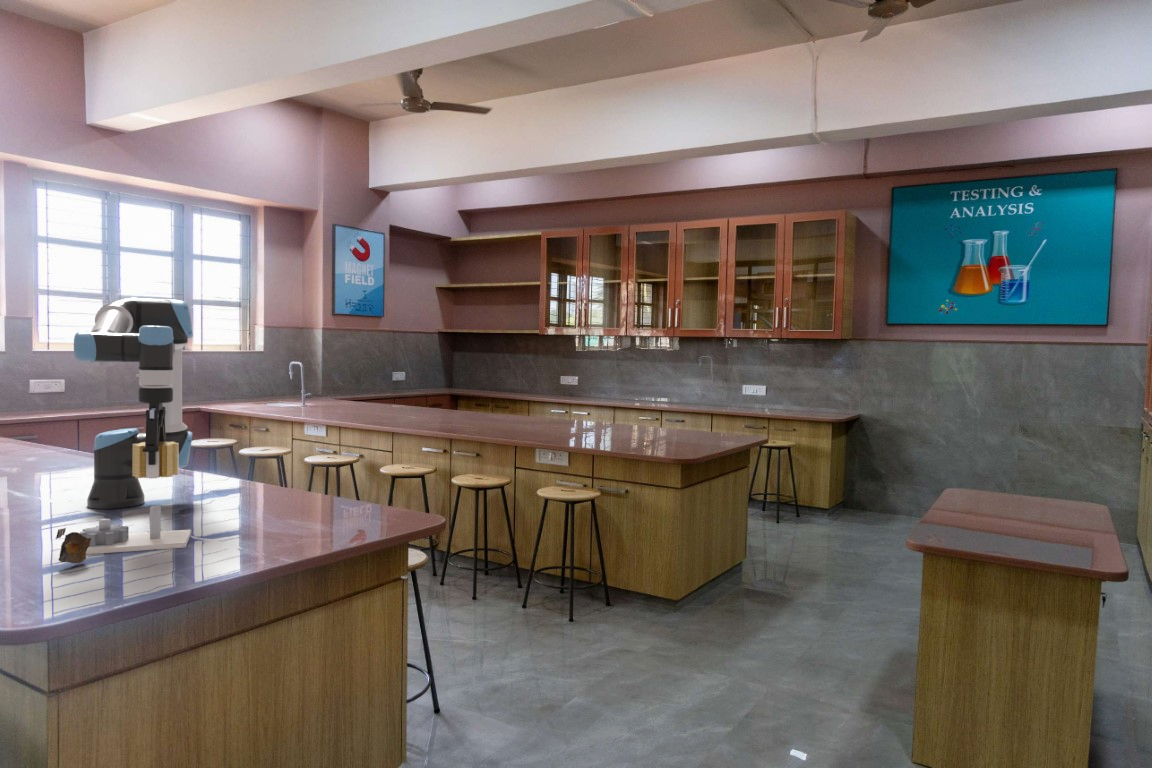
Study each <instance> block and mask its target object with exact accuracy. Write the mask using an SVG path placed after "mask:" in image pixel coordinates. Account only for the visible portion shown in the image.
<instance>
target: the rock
mask: <svg viewBox="0 0 1152 768" xmlns="http://www.w3.org/2000/svg"><path fill="white" fill-rule="evenodd" d="M66 529H67V527H64V528H60V529H57V533H56V536H55V540H57V539H61V537H62V536H64V537H65V538H64V540H63V542H62V543H61V546H60V552H59V557H58V562H61V563H69V564H81V563H83V562H84V561H85V560H86V559H87V557H86V556H87V554H86V551H87V548H88V547H89V544H90V540H91V538H85V537H83V536H82V535H81V534H80V532H76V531H73V532H70V533H67V534H66V535H65V533H66Z"/></svg>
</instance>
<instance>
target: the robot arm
mask: <svg viewBox="0 0 1152 768" xmlns="http://www.w3.org/2000/svg"><path fill="white" fill-rule="evenodd" d="M94 323H95V324H94V326H93V327H92V329H91V331H88V330H87V331H79V332H78V331H77V332H76V333H75V334H74V338H73V354H74V358H75V359H76V360H77V361H80V362H90V363H94V362H95V363H96V362H97V363H98V362H101V363H106V362H108V363H110V362H111V363H119V362H121V363H138V372H139V373H136V374H135V376H136V378H138V385H139V386H140V387H139V388H138V401H139V403H142V404H148V409H146V410H145V416H146V417H145V419H146V421H145V432H139V429H138V428H135V427H134V428H133V427H132V428H121V429H116V430H115V429H113V430H109V431H104V432H100V433H98V434H96V435H95V437H94V443H93V444H94V445H93V449H92V450H93V455H94V456H93V459H94V460H93V477H94V478H93V483H92V486H91V489H90V491H89V493H88V497H87V499H86V500H87V501H86V504H87V505H86V506H87V507H88V508H90V509H94V510H95V509H96V510H97V509H98V510H112V509H113V510H114V509H124V508H130V507H131V508H132V507H135V506H136V507H137V506H140V505H142V504H144V503H145V493H144V491H143V488H142V485H141V482H140V480H139V478H135V476H132V456H133V444H139V443H141V442H145V449H143V452H146V478H145V479H158V478H160V477H159V451H158V444H159V441H162V442H176V443H179V457H178V469H179V468H180V469H182V468H185V467H186V466H188V465H189V460H190V455H191V448H192V441H193V440H192V439H193V431H190V430H189V431H188V425H187V424H186V423H184V422H183V348H185V346H186V345H188V343H189V342H188V341H189V340H188V339H191V338H193V325H192V318H191V311H190V307H189V304H188V302H186V301H185V300H181V299H180V300H179V299H172V298H150V297H149V298H145V297H144V298H143V297H125V298H121V299H117V300H114V301H111V302H109V303H106V304H105V305H103V306H101V308H100V309H99V310H98V311H97V312H96V314H95V316H94Z"/></svg>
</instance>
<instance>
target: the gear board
mask: <svg viewBox="0 0 1152 768" xmlns="http://www.w3.org/2000/svg"><path fill="white" fill-rule="evenodd" d="M161 510H162V507H161V505H154V506H150V507H149V531H145V532H143V531H142V532H130V533H129V531H130V530H129V526H128V525H121V524H111V518H100V519H98V525H95V526H94V527H85V528H83V529H82V531H79V533H80V534H81V535H82V536H83V537H85V538H91V540H90V544H89V547H88V548H87V551H86V555H95V554H97V555H98V554H110V553H122V552H140V551H141V552H142V551H153V550H155V549H156V550H165V549H167V550H169V549H170V550H171V549H181V548H182V549H183V548H186V547H187V545H188V543H189V540H190V538H191V536H192V529H179V530H178V529H177V530H176V529H175V530H163V531H161V530H162V527H161V526H162V525H161V524H162V523H161V521H162V516H161V515H162V511H161ZM156 550H155V551H156Z"/></svg>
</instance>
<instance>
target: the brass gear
mask: <svg viewBox="0 0 1152 768" xmlns="http://www.w3.org/2000/svg"><path fill="white" fill-rule="evenodd" d="M143 449H145V442H141V443H139V444H133V456H132V476H135V478H138V479H142V478H143V479H147V478H146V452H143ZM158 451H159V478H169V477H173V476H177V475H179V468H178V457H179V443H176V442H162V441H159V444H158Z"/></svg>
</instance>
